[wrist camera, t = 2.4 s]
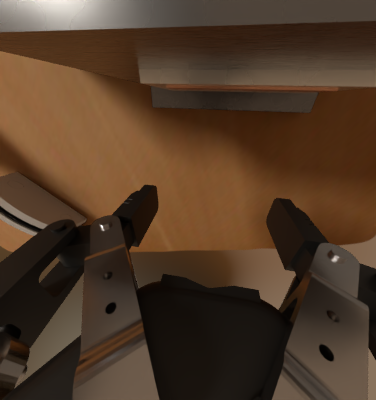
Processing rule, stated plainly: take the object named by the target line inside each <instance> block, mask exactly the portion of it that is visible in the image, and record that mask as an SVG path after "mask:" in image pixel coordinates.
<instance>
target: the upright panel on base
mask: <svg viewBox="0 0 376 400" xmlns="http://www.w3.org/2000/svg"><path fill="white" fill-rule="evenodd" d="M0 51H3V52H7V53H12V54H16V55H20V56H25V57H29V58H33V59H38V60H42V61H46V62H51V63H55V64H59V65H64V66H68V67H72V68H77V69H81V70H85V71H90V72H94V73H98V74H103V75H107V76H111V77H116V78H120V79H124V80H129V81H133V82H137V83H142V84H146V85H150V86H151V94H152V105H153V107H159V108H188V109H217V110H246V111H275V112H304V113H310V112H311V109H312V107H313V104H314V102H315V100H316V97H317V95H318V92H330V91H340V90H352V89H364V88H376V0H0Z"/></svg>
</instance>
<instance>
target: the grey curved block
mask: <svg viewBox="0 0 376 400" xmlns="http://www.w3.org/2000/svg"><path fill="white" fill-rule="evenodd" d="M0 219H1V220H3V221H4V222H6V223H8V224H9V225H11V226H13V227H15V228H17V229H19V230H21V231H23V232H25V233H28V234H30V235H33V236H35V235H36V234H37V233H39V232H40V231H41V230H42V229H44V228H45V227H46V226H48V225H49V224H51V223H53V222H56V221H59V220H63V219H71V220H73V221H74V222H75V224H76V226H77V227H78V226H82V225H81V224H83V223H85V222H86V220H87V218H85V217H84V216H82V215H81V214H79V213H78V212H76V211H75V210H73V209H72V208H70V207H69V206H67V205H66V204H64V203H63V202H62V201H60V200H59V199H57V198H56V197H54V196H53V195H51V194H50V193H48V192H47V191H45V190H44V189H42V188H41V187H39V186H38V185H36V184H35V183H33V182H32V181H30V180H29V179H27V178H26V177H25V176H23V175H22V174H20V173H19V172H15V173H11V174H8V175H5V176H1V177H0Z"/></svg>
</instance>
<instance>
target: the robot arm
mask: <svg viewBox="0 0 376 400" xmlns="http://www.w3.org/2000/svg"><path fill="white" fill-rule="evenodd" d="M157 211H158V195H157V187H156V186H154V185H144V186H143V187H142V188H141V190H140V191H136V192H134V193H132V194H131V195H130V196H129V197H128V198H127V199H126V200H125V201H124V203H122V204H121V206H120V207H119V208H118V209H117V210H116V211H115V212H114V213H113V214H112V215H109V216H104V217H101V218H99V219H97V220H95V221H94V222H93V223H92V225H87V226H78V227H77V226H76V224H75V222H74V221H73V220H71V219H63V220H59V221H56V222H53V223H51V224H49V225H48V226H46V227H45V228H44V229H42V230H41V231H40V232H39V233H37V234H36V235H35V236H33V237H32V238H31V239H30V240H28V241H27V242H26V243H25V244H23V245H22V246H21V247H20V248H18V249H17V250H16V251H14V252H13V253H12V254H11V255H9V256H8V257H7V258H6V259H4V260H3V261H2V262H0V400H368V348H369V349H370V351H371V353H372V354H373V356H374V358H375V360H376V269H375V268H371V267H369V266H366V265H363V264H360V263H359V262H358V260H357V259H356V258H355V257H354V256H353V255H352V254H351V253H349V252H348V251H347V250H345V249H343V248H341V247H339V246H337V245H334V244H331V243H329V242H328V241H327V240H326V238H325V237H324V236H323V235H322V233H321V232H320V231H319V230H318V228H317V227H316V226H314V223H313V222H312V221H310V218H309V217H308V216H307V215H306V213H304V212H303V211H302V210H300V209H299V208H296V207H295V205H294V204H293V203H292V201H291V200H290V199H282V198H276V199H275V200H274V201H273V204H272V206H271V209H270V211H269V213H268V216H267V220H266V223H267V227H268V229H269V232H270V234H271V237H272V239H273V242H274V244H275V246H276V249H277V251H278V254H279V256H280V259H281V261H282V263H283V266H284V269H285V270H290V271H295V273H296V276H295V277H294V278H293V280H292V283H291V285H290V287H289V289H288V292H287V294H286V296H285V299H284V300H283V303H282V304H281V306H280V308H279V310H277V309H276V308H275V307H273V306H272V305H270V304H269V303H267V302H265V301H263V300H262V299H260V295H259V290H255V289H249V288H243V287H237V286H228V287H218V288H207V287H205V286H202V285H200V284H198V283H196V282H194V281H191V280H189V279H187V278H184V277H179V276H172V275H167V274H163V276H162V279H161V281H157V282H153V283H150V284H147V285H145V286H143V287H141V288H139V287H138V283H137V280H136V276H135V272H134V268H133V264H132V260H131V256H130V252H129V249H130V248H131V246H135V247H139V245H140V243H141V241H142V239H143V237H144V235H145V233H146V232H147V230H148V228H149V226H150V224H151V222H152V220H153V219H154V217H155V215H156V213H157ZM56 257H57V258H58V259H59V260H60V261H59V263H58V264H57V265H56V266H55V267H54V268H53V269H52V270H51V271H50V272H49V273H48V274H47V276H46V277H45V278H44V279H43V280H42V281H41V282H40V283H39V276H40V275H41V273H42V272H43V270H44V269H45V268H46V267H47V266H48V265H49V264H50V263H51V262H52V261H53V260H54V259H55V258H56ZM83 273H84V282H83V306H82V330H81V332H82V333H81V335H80V336H79V337H78V338H76V339H75V340H74V341H73V342H72V343H70V344H69V345H68V346H67V347H65V348H64V349H63V350H62V351H61V352H59V353H58V354H57V355H56V356H54V357H53V358H52V359H51V360H50V361H48V362H47V363H46V364H44V365H43V366H42V367H41V368H39V369H38V370H37V371H36V372H34V373H33V374H32V375H31V376H30V377H28V378H27V379H26V380H25V381H23V382H22V383H21V384H20V385H18V386H17V387H16V388H15V386H16V385H17V384H18V383H19V382H20V381H21V380H22V379H23V377H24V376H25V374H26V372H27V361H28V359H29V354H30V348H31V346H32V345H33V343H34V342H35V341H36V339H37V338H38V336H39V335H40V333H41V332H42V331H43V329H44V328H45V326H46V325H47V324H48V322H49V321H50V319H51V318H52V317H53V315H54V314H55V312H56V311H57V310H58V308H59V307H60V305H61V304H62V303H63V301H64V300H65V298H66V297H67V296H68V294H69V293H70V291H71V290H72V288H73V287H74V286H75V284H76V283H77V281H78V280H79V279H80V277H81V276H82V274H83ZM14 388H15V389H14Z"/></svg>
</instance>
